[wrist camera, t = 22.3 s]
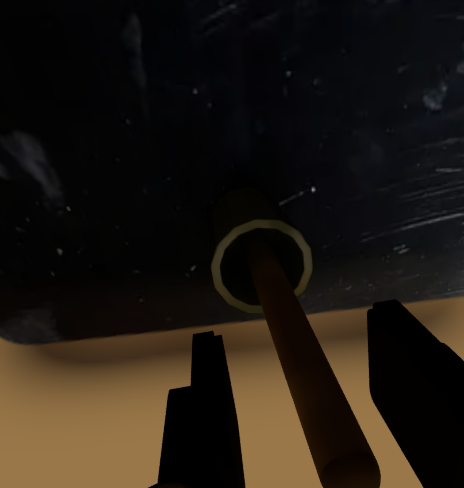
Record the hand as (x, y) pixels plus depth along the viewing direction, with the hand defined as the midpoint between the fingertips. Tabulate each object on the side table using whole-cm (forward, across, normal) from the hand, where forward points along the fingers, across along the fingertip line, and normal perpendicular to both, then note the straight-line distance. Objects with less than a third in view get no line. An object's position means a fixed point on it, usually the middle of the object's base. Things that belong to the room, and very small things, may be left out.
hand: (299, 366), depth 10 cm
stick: (+13, 0, -1) cm, 13 cm away
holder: (+14, 0, 0) cm, 14 cm away
